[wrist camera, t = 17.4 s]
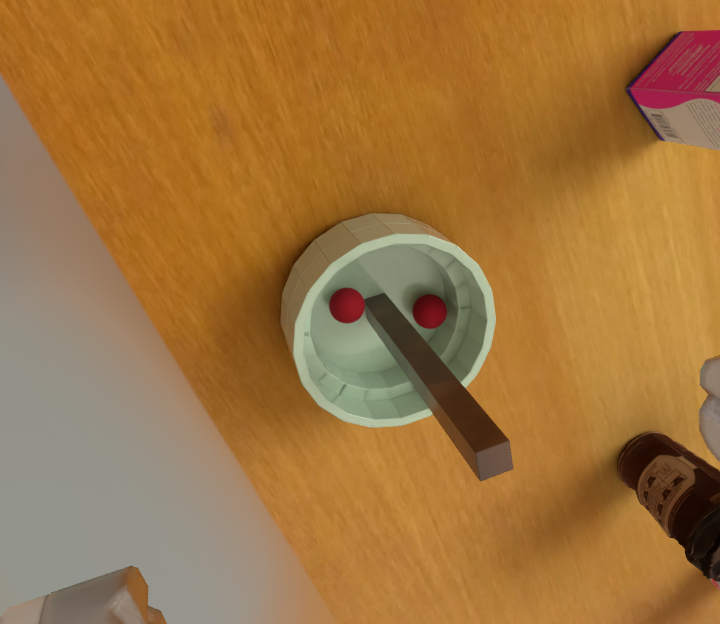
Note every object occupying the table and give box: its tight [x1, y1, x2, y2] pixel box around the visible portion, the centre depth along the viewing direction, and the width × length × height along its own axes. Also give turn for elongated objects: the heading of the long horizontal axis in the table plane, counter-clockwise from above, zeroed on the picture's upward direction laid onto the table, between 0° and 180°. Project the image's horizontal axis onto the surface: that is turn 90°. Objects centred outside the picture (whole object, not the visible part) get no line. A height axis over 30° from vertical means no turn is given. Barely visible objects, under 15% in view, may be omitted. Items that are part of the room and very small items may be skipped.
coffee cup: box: [618, 432, 720, 582], centre depth 58 cm, size 9×8×13 cm
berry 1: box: [329, 288, 365, 324], centre depth 47 cm, size 3×3×3 cm
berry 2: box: [412, 294, 447, 329], centre depth 49 cm, size 3×3×3 cm
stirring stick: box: [364, 293, 513, 481], centre depth 40 cm, size 2×2×20 cm
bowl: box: [280, 213, 496, 428], centre depth 47 cm, size 14×14×6 cm
